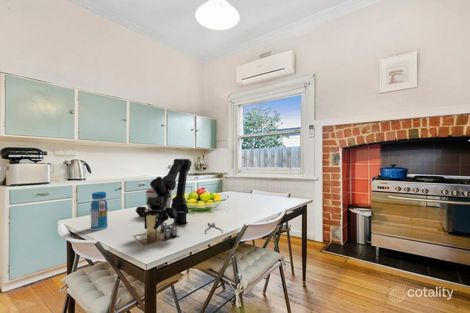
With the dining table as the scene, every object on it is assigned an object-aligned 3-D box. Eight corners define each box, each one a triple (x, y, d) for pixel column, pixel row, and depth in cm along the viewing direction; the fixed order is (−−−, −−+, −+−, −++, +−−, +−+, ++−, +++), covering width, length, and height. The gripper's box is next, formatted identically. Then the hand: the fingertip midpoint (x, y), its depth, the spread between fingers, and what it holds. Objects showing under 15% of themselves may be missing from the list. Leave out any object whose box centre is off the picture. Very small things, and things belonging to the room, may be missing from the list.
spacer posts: (164, 229, 125) (164, 221, 125) (178, 236, 112) (178, 228, 112) (147, 232, 119) (147, 224, 119) (160, 241, 107) (160, 232, 107)
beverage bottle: (87, 231, 125) (87, 194, 125) (94, 226, 134) (93, 191, 134) (104, 230, 127) (104, 193, 127) (109, 225, 135) (109, 191, 135)
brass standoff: (154, 238, 110) (154, 213, 110) (158, 241, 106) (158, 215, 106) (145, 241, 107) (145, 214, 107) (148, 243, 103) (148, 216, 104)
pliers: (206, 234, 118) (197, 223, 136) (206, 236, 118) (197, 225, 136) (224, 231, 121) (213, 222, 140) (224, 233, 121) (213, 223, 140)
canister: (176, 212, 167) (176, 183, 167) (166, 218, 149) (166, 186, 149) (152, 211, 169) (152, 182, 169) (139, 218, 151) (139, 185, 151)
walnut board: (166, 230, 126) (166, 228, 126) (180, 238, 113) (180, 236, 113) (132, 237, 114) (132, 235, 114) (143, 247, 101) (143, 245, 101)
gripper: (137, 189, 112) (123, 218, 101) (174, 190, 109) (163, 220, 98) (146, 203, 120) (134, 231, 109) (180, 204, 117) (171, 233, 106)
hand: (150, 228), depth 105 cm, fingers closed on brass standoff, 4 cm apart
